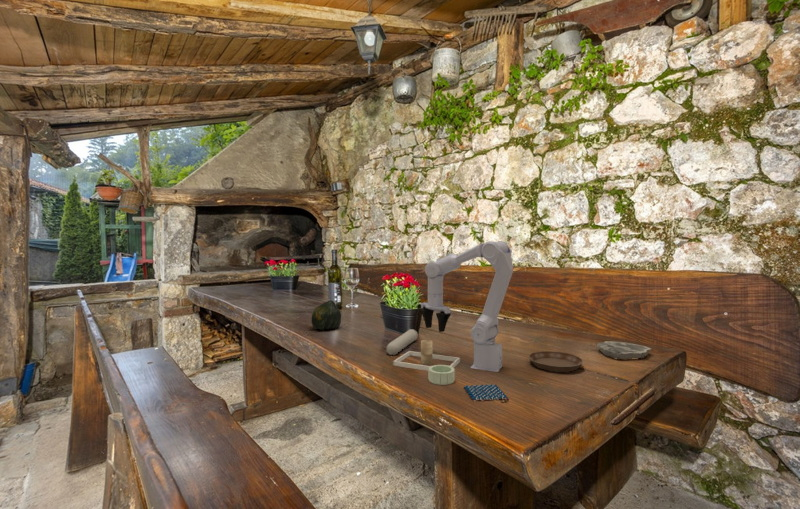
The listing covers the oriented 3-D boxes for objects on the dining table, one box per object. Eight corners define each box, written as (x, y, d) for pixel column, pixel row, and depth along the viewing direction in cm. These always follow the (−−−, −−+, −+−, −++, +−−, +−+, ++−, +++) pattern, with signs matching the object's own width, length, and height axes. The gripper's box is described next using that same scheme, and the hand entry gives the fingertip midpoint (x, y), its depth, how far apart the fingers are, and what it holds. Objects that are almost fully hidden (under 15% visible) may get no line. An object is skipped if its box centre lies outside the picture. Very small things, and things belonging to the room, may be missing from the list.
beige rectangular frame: (460, 363, 139) (460, 357, 139) (447, 375, 127) (447, 369, 127) (409, 356, 148) (409, 350, 148) (392, 366, 135) (392, 361, 135)
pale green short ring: (457, 379, 123) (457, 367, 123) (449, 388, 116) (449, 374, 116) (433, 375, 127) (433, 363, 126) (424, 383, 119) (424, 371, 119)
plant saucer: (527, 371, 132) (527, 362, 132) (530, 356, 148) (530, 348, 148) (584, 378, 125) (584, 368, 125) (580, 361, 142) (581, 353, 142)
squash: (301, 318, 193) (316, 297, 187) (323, 314, 205) (337, 294, 199) (316, 340, 187) (331, 319, 181) (337, 335, 199) (352, 315, 193)
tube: (398, 347, 147) (419, 331, 170) (386, 341, 149) (408, 327, 172) (394, 359, 148) (415, 342, 171) (382, 354, 150) (404, 338, 173)
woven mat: (510, 404, 106) (510, 397, 106) (472, 406, 105) (472, 398, 105) (497, 389, 116) (497, 383, 116) (462, 391, 115) (462, 384, 115)
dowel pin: (434, 362, 138) (434, 340, 138) (430, 366, 134) (430, 343, 134) (423, 361, 140) (423, 339, 139) (419, 364, 136) (419, 342, 136)
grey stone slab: (616, 346, 163) (616, 339, 163) (658, 357, 148) (658, 349, 147) (584, 352, 154) (584, 344, 154) (625, 364, 139) (625, 356, 139)
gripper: (415, 292, 150) (415, 327, 150) (440, 297, 138) (439, 334, 138) (429, 291, 154) (429, 325, 154) (454, 295, 142) (454, 332, 142)
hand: (435, 329), depth 147 cm, fingers open, 7 cm apart
